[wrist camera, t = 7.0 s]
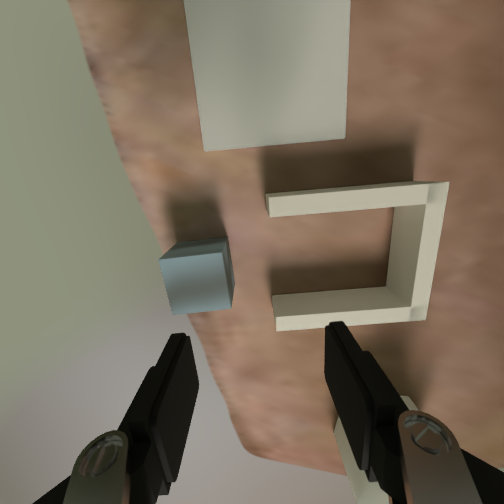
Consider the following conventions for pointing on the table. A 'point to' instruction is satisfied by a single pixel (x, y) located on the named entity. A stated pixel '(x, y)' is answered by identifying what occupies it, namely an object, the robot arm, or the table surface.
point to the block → (198, 276)
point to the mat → (269, 70)
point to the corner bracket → (365, 493)
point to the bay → (400, 257)
